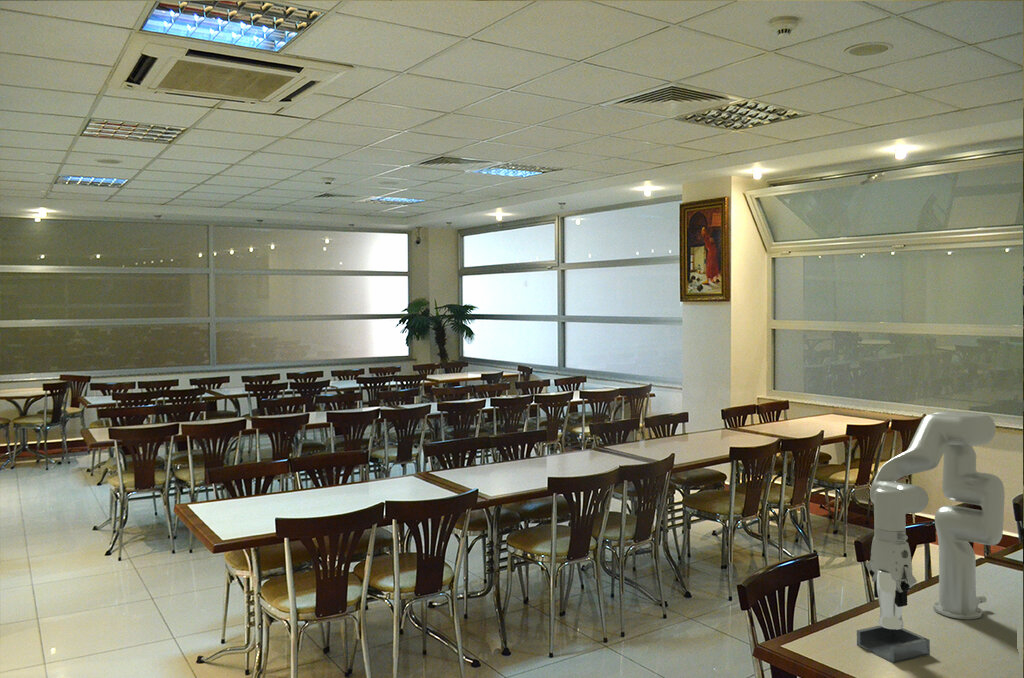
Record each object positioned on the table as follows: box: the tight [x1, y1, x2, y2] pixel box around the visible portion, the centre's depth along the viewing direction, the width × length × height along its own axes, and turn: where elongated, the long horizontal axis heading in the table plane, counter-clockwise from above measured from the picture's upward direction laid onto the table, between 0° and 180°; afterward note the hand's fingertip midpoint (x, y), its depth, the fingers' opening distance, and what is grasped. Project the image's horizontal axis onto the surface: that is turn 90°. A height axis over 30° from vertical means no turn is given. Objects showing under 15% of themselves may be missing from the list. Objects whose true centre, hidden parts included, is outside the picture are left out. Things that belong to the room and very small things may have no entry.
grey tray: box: [856, 625, 931, 664], centre depth 210 cm, size 12×12×4 cm
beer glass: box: [877, 569, 905, 630], centre depth 209 cm, size 7×7×15 cm
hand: (890, 600), depth 209 cm, fingers closed on beer glass, 6 cm apart
